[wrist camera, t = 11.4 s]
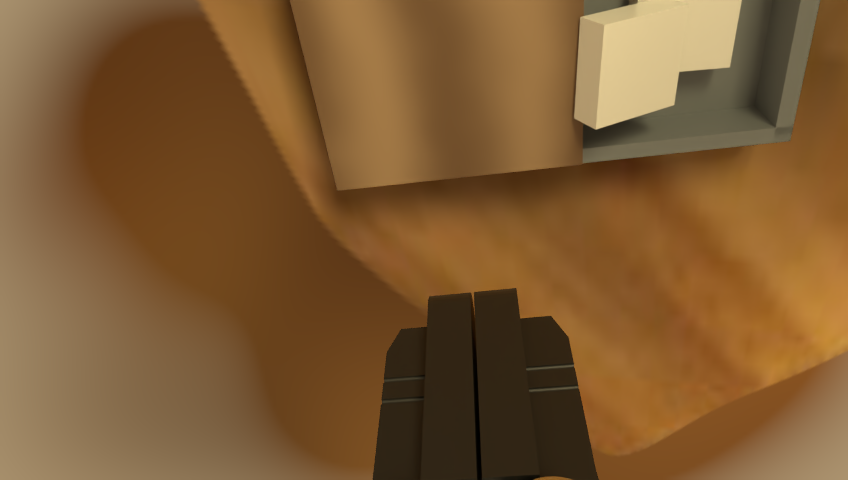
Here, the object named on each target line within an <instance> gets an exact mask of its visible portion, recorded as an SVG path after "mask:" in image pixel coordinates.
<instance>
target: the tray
mask: <svg viewBox="0 0 848 480" xmlns="http://www.w3.org/2000/svg"><path fill="white" fill-rule="evenodd" d="M819 3H820V0H742V2H741V8H740V13H739V19H738V24H737V30H736V35H735V41H734V47H733V52H732V58H731V63H730V67H729V68H718V69H706V70H695V71H683V72H679V76H678V83H677V90H676V96H675V103H674V105H673V106H670V107H666V108H663V109H660V110H657V111H654V112H650V113H647V114H644V115H641V116H638V117H634V118H631V119H628V120H625V121H622V122H618V123H615V124H612V125H609V126H606V127H603V128H599V129H594V128H592V127H590V126H588V125H586V124H584V123H583V163H590V162H599V161H608V160H618V159H627V158H636V157H646V156H655V155H664V154H674V153H683V152H692V151H702V150H711V149H721V148H730V147H739V146H749V145H758V144H767V143H777V142H786V141H790V139H791V134H792V130H793V125H794V120H795V116H796V111H797V106H798V102H799V97H800V92H801V88H802V83H803V78H804V74H805V69H806V64H807V59H808V55H809V50H810V45H811V41H812V36H813V31H814V27H815V22H816V17H817V13H818V8H819ZM628 5H629V0H584V16H586V15H591V14H595V13H599V12H603V11H608V10H612V9H616V8H620V7H624V6H628Z"/></svg>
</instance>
